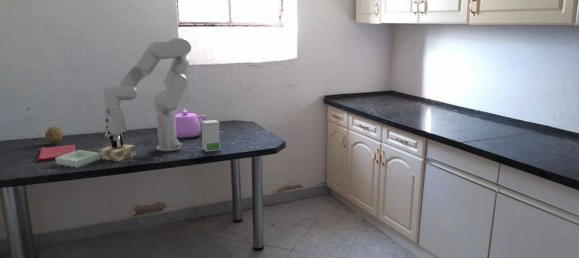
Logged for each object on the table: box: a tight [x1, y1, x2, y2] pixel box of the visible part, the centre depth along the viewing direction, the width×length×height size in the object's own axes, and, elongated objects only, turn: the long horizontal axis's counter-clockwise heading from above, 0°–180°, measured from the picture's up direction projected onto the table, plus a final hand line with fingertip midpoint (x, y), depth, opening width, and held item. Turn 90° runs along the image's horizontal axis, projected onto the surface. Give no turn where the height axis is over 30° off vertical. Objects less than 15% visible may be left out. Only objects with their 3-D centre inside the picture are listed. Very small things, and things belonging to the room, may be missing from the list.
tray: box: [55, 149, 101, 169], centre depth 214 cm, size 14×14×4 cm
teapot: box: [175, 108, 208, 139], centre depth 264 cm, size 23×21×15 cm
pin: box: [114, 133, 121, 149], centre depth 220 cm, size 4×4×13 cm
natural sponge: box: [44, 126, 64, 145], centre depth 245 cm, size 9×9×10 cm
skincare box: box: [200, 119, 221, 153], centre depth 232 cm, size 8×7×16 cm
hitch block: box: [99, 143, 137, 162], centre depth 221 cm, size 12×12×5 cm
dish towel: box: [37, 144, 76, 162], centre depth 228 cm, size 17×24×3 cm
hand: (117, 146), depth 221 cm, fingers closed on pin, 3 cm apart
